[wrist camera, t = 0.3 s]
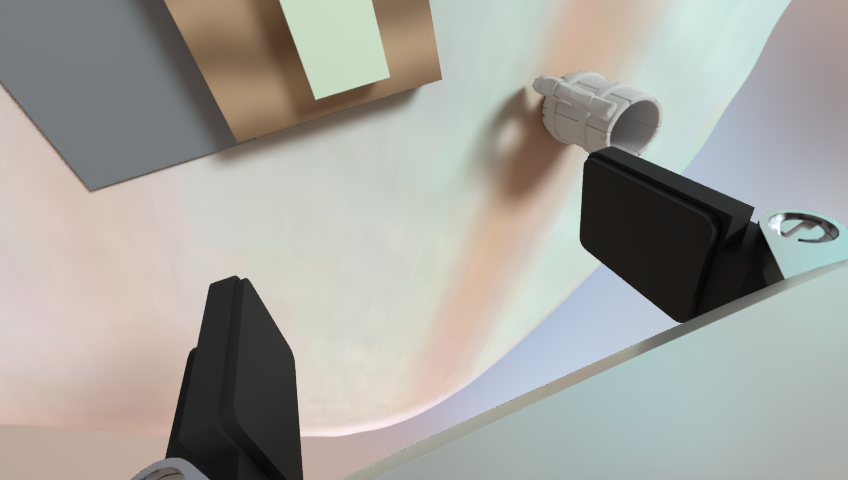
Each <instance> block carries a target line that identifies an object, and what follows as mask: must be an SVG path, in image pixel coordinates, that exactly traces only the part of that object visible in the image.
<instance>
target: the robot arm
mask: <svg viewBox="0 0 848 480" xmlns="http://www.w3.org/2000/svg"><path fill="white" fill-rule="evenodd" d="M753 211H754V207H752V206H750V205H748V204H745V203H743V202H741V201H739V200H736V199H734V198H731V197H729V196H727V195H725V194H722V193H720V192H718V191H715V190H713V189H711V188H709V187H706V186H704V185H702V184H699V183H697V182H694V181H692V180H690V179H688V178H685V177H683V176H681V175H679V174H676V173H674V172H672V171H669V170H667V169H665V168H662V167H660V166H658V165H656V164H653V163H651V162H649V161H646V160H644V159H642V158H639V157H637V156H635V155H632V154H630V153H628V152H626V151H623V150H621V149H619V148H616V147H613V146H609V147H606V148H603V149H600V150H597V151H594V152H592V153H590V154H589V156H588V159H587V160H586V161H585V163H584V168H583V186H582V204H581V221H580V242H581V244H582V246H583V247H584V248H585V249H586V250H587V251H588V252H589V253H591V254H592V255H593V256H594V257H596V258H597V259H598V260H599V261H601V262H602V263H603V264H604V265H606V266H607V267H608V268H609V269H611V270H612V271H613V272H615V273H616V274H617V275H618V276H619V277H621V278H622V279H623V280H625V281H626V282H627V283H628V284H629V285H631V286H632V287H633V288H634V289H636V290H637V291H638V292H640V293H641V294H642V295H643V296H644V297H646V298H647V299H648V300H649V301H651V302H652V303H653V304H654V305H656V306H657V307H658V308H660V309H661V310H662V311H663V312H665V313H666V314H667V315H669V316H670V317H671V318H672V319H673V320H675V321H676V322H679V323H683V324H680V325H678V326H676V327H673V328H671V329H669V330H667V331H664V332H662V333H660V334H658V335H655V336H653V337H651V338H649V339H646V340H644V341H642V342H640V343H637V344H635V345H633V346H631V347H629V348H626V349H624V350H622V351H619V352H617V353H615V354H613V355H610V356H609V357H606V358H604V359H602V360H599V361H597V362H595V363H593V364H591V365H588V366H586V367H584V368H581V369H579V370H577V371H575V372H572V373H570V374H568V375H566V376H564V377H561V378H559V379H557V380H555V381H553V382H550V383H548V384H546V385H544V386H542V387H539V388H537V389H535V390H533V391H530V392H528V393H526V394H524V395H521V396H519V397H517V398H515V399H513V400H510V401H508V402H506V403H504V404H502V405H500V406H497V407H495V408H493V409H491V410H488V411H486V412H484V413H482V414H480V415H477V416H475V417H473V418H471V419H469V420H466V421H464V422H462V423H460V424H458V425H456V426H453V427H451V428H449V429H447V430H444V431H442V432H440V433H438V434H436V435H433V436H431V437H429V438H427V439H425V440H422V441H420V442H418V443H416V444H414V445H411V446H409V447H407V448H405V449H403V450H401V451H399V452H396V453H395V454H392V455H390V456H388V457H386V458H384V459H382V460H380V461H377V462H376V463H373V464H371V465H369V466H367V467H365V468H363V469H361V470H359V471H357V472H354V473H352V474H350V475H348V476H346V477H344V478H342V479H340V480H848V229H847V228H846V227H845V226H844V225H843V224H842V223H840V222H838V221H836V220H835V219H833V218H831V217H829V216H826V215H823V214H820V213H817V212H812V211H807V210H800V209H777V210H773V211H769V212H767V213H765V214H763V215H762V216H761V217H760V219H759V221H758V224H756V223H754V222H751V221H750V219H751V216H752V213H753ZM131 480H303V470H302V456H301V442H300V428H299V414H298V400H297V386H296V371H295V360H294V356H293V353H292V351H291V349H290V347H289V345H288V344H287V342H286V340H285V339H284V337H283V335H282V334H281V332H280V330H279V329H278V327H277V325H276V324H275V322H274V320H273V319H272V317H271V315H270V314H269V312H268V310H267V309H266V307H265V305H264V304H263V302H262V300H261V299H260V297H259V295H258V294H257V292H256V290H255V289H254V287H253V285H252V284H251V282H250V281H249V280H248V279H247V278H245V279H242V280H240V278H239V277H238V276H232V277H229V278H226V279H223V280H220V281H217V282H215V283H212V284H210V286H209V291H208V295H207V300H206V305H205V310H204V315H203V320H202V325H201V329H200V334H199V339H198V344H197V347H196V348H193V349H192V350H191V351H190V353H189V356H188V359H187V363H186V368H185V372H184V377H183V381H182V386H181V390H180V395H179V399H178V404H177V408H176V412H175V417H174V421H173V426H172V430H171V435H170V439H169V444H168V448H167V453H166V457H165V459H164V460H161V461H158V462H155V463H154V464H152V465H150V466H148V467H147V468H145V469H144V470H142V471H140V472H139V473H138V474H137V475H136V476H134V477H133V478H132V479H131Z"/></svg>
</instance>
